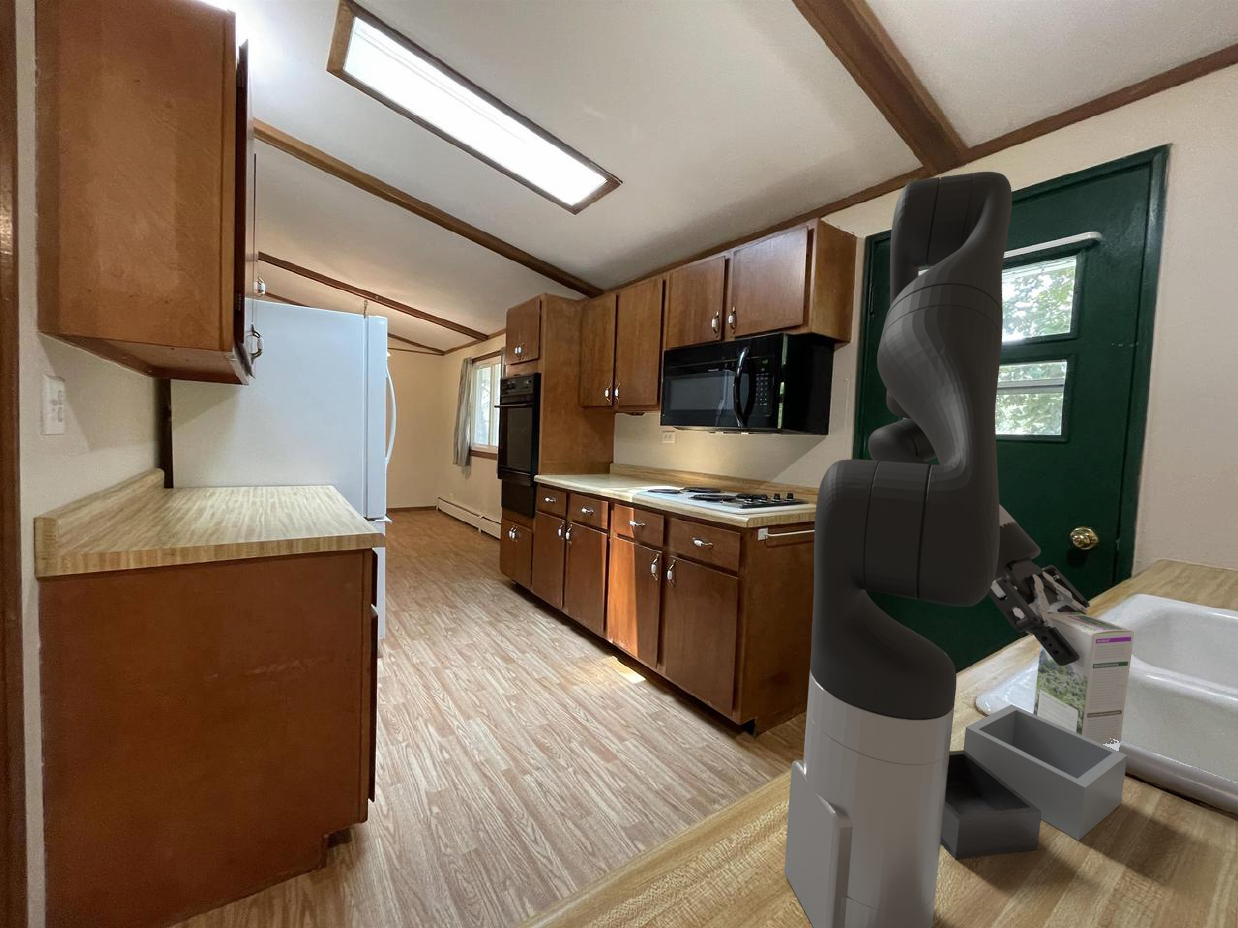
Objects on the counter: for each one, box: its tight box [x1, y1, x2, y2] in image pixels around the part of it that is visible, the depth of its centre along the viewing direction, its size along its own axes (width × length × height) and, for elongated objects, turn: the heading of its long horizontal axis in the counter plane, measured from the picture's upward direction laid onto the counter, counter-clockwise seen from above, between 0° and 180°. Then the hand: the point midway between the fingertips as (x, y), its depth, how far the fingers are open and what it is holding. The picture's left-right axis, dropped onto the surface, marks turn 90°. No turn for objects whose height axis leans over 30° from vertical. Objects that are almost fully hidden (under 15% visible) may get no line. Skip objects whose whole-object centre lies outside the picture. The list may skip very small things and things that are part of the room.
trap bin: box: [940, 749, 1042, 860], centre depth 46 cm, size 8×8×4 cm
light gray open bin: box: [962, 704, 1128, 841], centre depth 51 cm, size 10×10×5 cm
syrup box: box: [1032, 612, 1134, 744], centre depth 58 cm, size 6×6×14 cm
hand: (1087, 655), depth 58 cm, fingers open, 8 cm apart
